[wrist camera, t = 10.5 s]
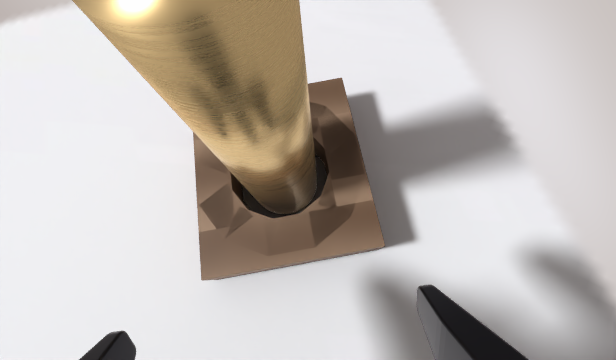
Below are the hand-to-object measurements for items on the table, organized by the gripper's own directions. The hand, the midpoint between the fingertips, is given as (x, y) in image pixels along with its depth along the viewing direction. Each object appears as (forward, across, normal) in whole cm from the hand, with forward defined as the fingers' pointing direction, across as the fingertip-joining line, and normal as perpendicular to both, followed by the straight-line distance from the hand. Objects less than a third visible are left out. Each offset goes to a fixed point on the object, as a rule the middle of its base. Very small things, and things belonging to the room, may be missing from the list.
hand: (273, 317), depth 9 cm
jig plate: (+12, 0, +1) cm, 12 cm away
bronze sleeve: (+11, 0, +1) cm, 11 cm away
